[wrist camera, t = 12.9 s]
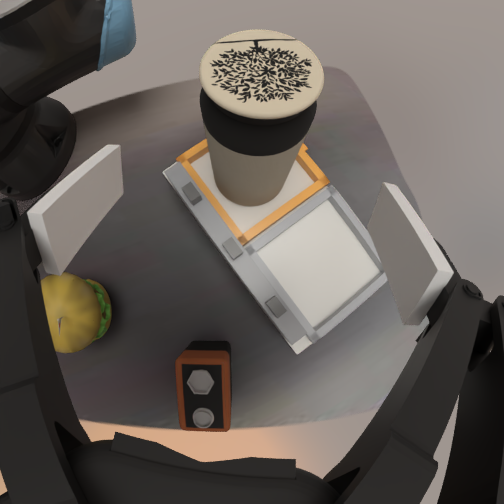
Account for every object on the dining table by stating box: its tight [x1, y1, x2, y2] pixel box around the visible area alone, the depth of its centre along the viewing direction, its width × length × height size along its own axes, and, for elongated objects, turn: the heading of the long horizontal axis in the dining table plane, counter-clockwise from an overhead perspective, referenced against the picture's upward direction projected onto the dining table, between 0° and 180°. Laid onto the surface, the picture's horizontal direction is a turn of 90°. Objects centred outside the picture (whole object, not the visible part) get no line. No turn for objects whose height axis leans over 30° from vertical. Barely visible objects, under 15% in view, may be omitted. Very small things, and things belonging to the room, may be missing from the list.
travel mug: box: [199, 30, 324, 206], centre depth 24 cm, size 8×8×18 cm
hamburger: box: [41, 272, 112, 353], centre depth 26 cm, size 8×7×12 cm
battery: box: [175, 341, 232, 432], centre depth 27 cm, size 4×7×10 cm, turn 1°
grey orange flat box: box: [163, 139, 388, 355], centre depth 30 cm, size 25×15×7 cm, turn 37°
